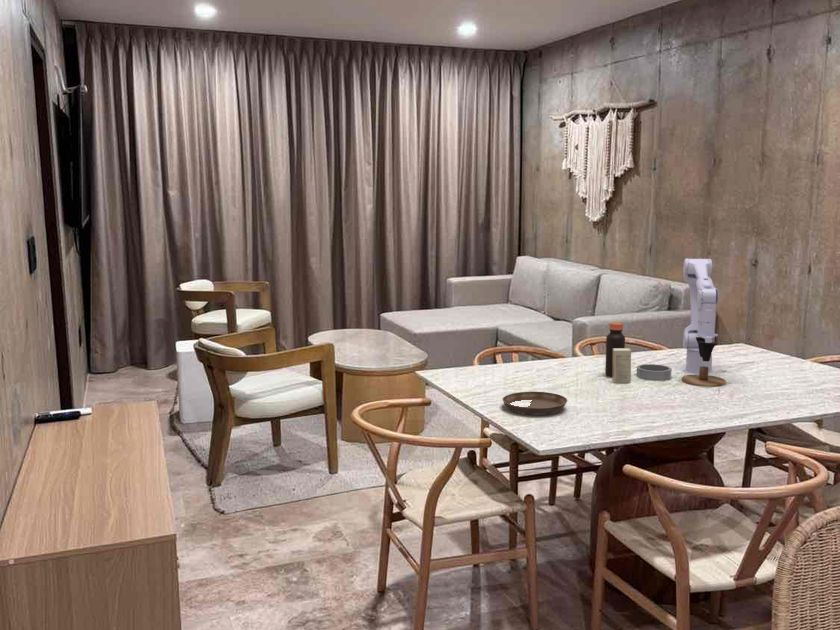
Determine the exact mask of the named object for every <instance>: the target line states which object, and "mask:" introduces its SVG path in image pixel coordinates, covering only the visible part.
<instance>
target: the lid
mask: <svg viewBox="0 0 840 630" xmlns="http://www.w3.org/2000/svg"><path fill="white" fill-rule="evenodd" d="M681 379H682V382H681V383H683V382H684V384H685V385H686V384H687V385H690V386H695V387H699V386H704V387H712V388H715V387H716V388H717V387H722V386H725V383H726V379H725V378H722V377H720V376H715V375H709V373H708V367H705V366H701V367H700V371H699V375H696V374H687V375H683V376H681Z"/></svg>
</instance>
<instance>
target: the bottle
mask: <svg viewBox="0 0 840 630" xmlns="http://www.w3.org/2000/svg"><path fill="white" fill-rule="evenodd" d="M608 326H609V327H608V328H609V333H608V334H607V335H606V337H605V338H606V339H605V340H606V341H605V344H606V346H605V370H604V371H605V372H604V373H605V376H606V377H607V378H608V377H610V378H612V367H613V348H626V336H625V335H624V334H623V331H624V330H623V329H624V324H623V322H610V323H609V325H608Z"/></svg>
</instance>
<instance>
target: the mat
mask: <svg viewBox="0 0 840 630" xmlns="http://www.w3.org/2000/svg"><path fill="white" fill-rule="evenodd" d="M674 381H675V382H680V383H684V382H682V378H680V379H675V380H674ZM725 381H726V380H725ZM684 384H685V383H684ZM729 384H732V382H731V381H726V383H725V385H729ZM725 385H724V386H725ZM698 387H700V388H704V389H711V388H713V387H704V386H698Z"/></svg>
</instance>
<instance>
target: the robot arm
mask: <svg viewBox="0 0 840 630" xmlns="http://www.w3.org/2000/svg"><path fill="white" fill-rule="evenodd" d="M682 267H683V269H682V270H683V273H682V274H683V279H684V280H683V281H684V282H686V283H687V284H688V287H689V300H690V301H689V302H690V324H689V325H688V326H687V327H684V329H683V335H682V347H683V348H684V349H685V350H686V361H685V369H683V370H680V371H681V372H683V373H689V374H691V375H699V371H700V367H701V366H705V367H708V374H709V373H713V372H714V371H713V370H712V367H713V354H712V352H713V351H714V348H715V347H716V345H717V343H716V342H713V339H714V338H715V337H718V336H719V334H718V333H715V327H716V326H715V325H716V312H717V311H716V309H717V305H718V302H719V290H718V289H719V288H718V287H717V288H716V287H715V285H714V282H713V280H712V278H711V274H712V271H713V261H712V259H711V258H687V257H686V258H685V259H684V260H683V266H682Z"/></svg>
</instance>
